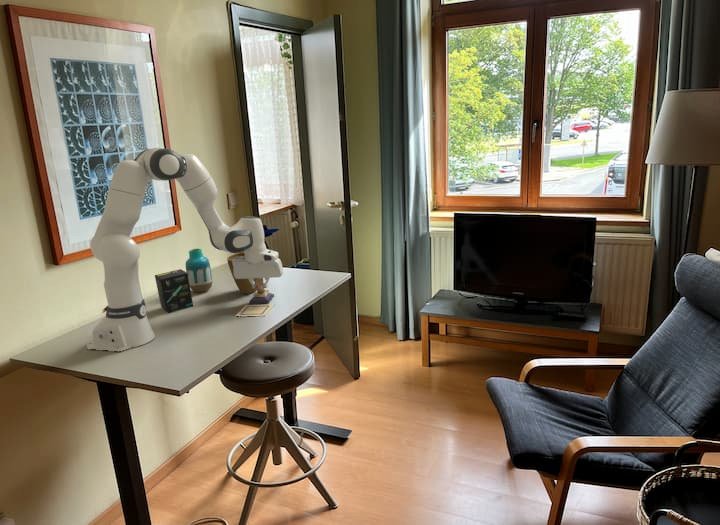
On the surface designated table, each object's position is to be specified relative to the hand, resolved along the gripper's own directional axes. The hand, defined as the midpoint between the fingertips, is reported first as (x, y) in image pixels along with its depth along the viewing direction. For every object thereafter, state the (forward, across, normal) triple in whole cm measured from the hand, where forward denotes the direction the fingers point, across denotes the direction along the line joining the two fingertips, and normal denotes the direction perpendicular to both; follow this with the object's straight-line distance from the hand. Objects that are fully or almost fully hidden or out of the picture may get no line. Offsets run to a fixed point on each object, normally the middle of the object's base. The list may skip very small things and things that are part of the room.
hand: (260, 287), depth 215 cm
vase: (+6, -33, +15) cm, 37 cm away
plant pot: (+6, -10, +13) cm, 17 cm away
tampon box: (+6, -35, -5) cm, 36 cm away
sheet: (+5, +1, -12) cm, 13 cm away
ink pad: (+5, 0, 0) cm, 5 cm away
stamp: (+4, 0, 0) cm, 4 cm away
